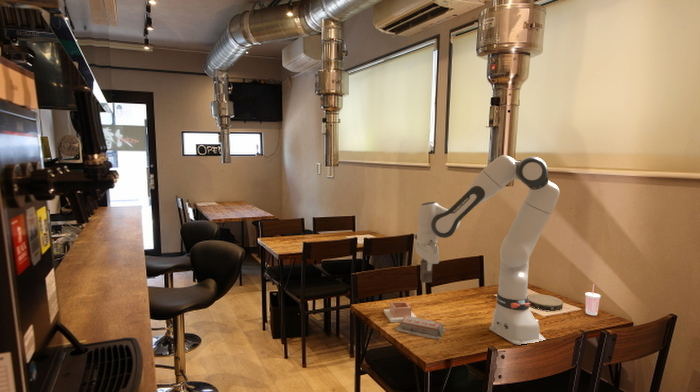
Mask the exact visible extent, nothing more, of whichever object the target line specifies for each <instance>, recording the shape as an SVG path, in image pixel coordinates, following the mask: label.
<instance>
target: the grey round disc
mask: <svg viewBox="0 0 700 392" xmlns="http://www.w3.org/2000/svg"><path fill="white" fill-rule="evenodd" d="M527 297H528V301H529V303H531V304H529V305H530V306H529V307H531V306H533V307H535V308H534V309H536V308H539V309H538V310H540V309H543V310H542V311H545V310H549V311H548V312H556V311H555V310H559V311H561V310H562V309H563V305H564V303H563V300H562V299H560V298H558V297H556V296H552V295H548V294H540V293H531V294H527ZM533 307H532V308H533ZM560 309H561V310H560Z"/></svg>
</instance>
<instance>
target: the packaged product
mask: <svg viewBox="0 0 700 392" xmlns="http://www.w3.org/2000/svg"><path fill="white" fill-rule="evenodd" d="M416 317H417V316H416ZM416 317H411V316H404V318H403V320H402V322H399V325H398V326H397V327H396V328H395V331H396V332H400V333H401V332H402V333H406V334H410V335H414V336H418V337H422V338H428V339H433V340H438V341H440V338H441V337H442V335H443V334H444V332H445V331H446V329H445V328H444V323H443V322H439V321H435V320H430V319H427V318H426V319H425V318H420V317H417V318H416Z"/></svg>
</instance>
